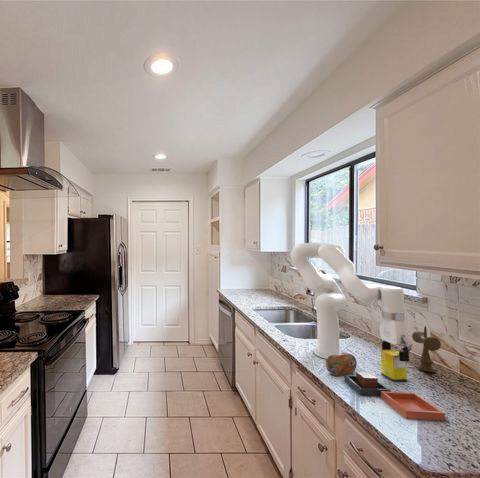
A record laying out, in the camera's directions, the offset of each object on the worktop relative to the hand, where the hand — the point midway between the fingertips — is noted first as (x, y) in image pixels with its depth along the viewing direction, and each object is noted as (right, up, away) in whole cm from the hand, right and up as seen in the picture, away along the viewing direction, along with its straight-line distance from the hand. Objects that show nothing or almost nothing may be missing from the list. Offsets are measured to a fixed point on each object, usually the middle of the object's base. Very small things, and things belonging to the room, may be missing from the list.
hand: (395, 356), depth 113 cm
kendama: (+20, -10, +6) cm, 23 cm away
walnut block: (-18, -9, -8) cm, 22 cm away
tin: (-20, -10, +5) cm, 23 cm away
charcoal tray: (-18, -10, -8) cm, 22 cm away
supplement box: (0, -10, 0) cm, 10 cm away
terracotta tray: (-13, -9, -20) cm, 26 cm away
